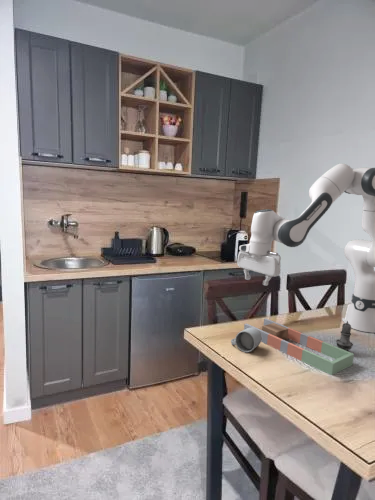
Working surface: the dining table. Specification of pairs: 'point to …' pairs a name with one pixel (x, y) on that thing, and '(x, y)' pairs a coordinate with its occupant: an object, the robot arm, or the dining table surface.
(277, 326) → the walnut block
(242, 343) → the ceramic mug
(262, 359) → the dining table surface
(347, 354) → the frame
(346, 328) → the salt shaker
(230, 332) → the dining table surface
